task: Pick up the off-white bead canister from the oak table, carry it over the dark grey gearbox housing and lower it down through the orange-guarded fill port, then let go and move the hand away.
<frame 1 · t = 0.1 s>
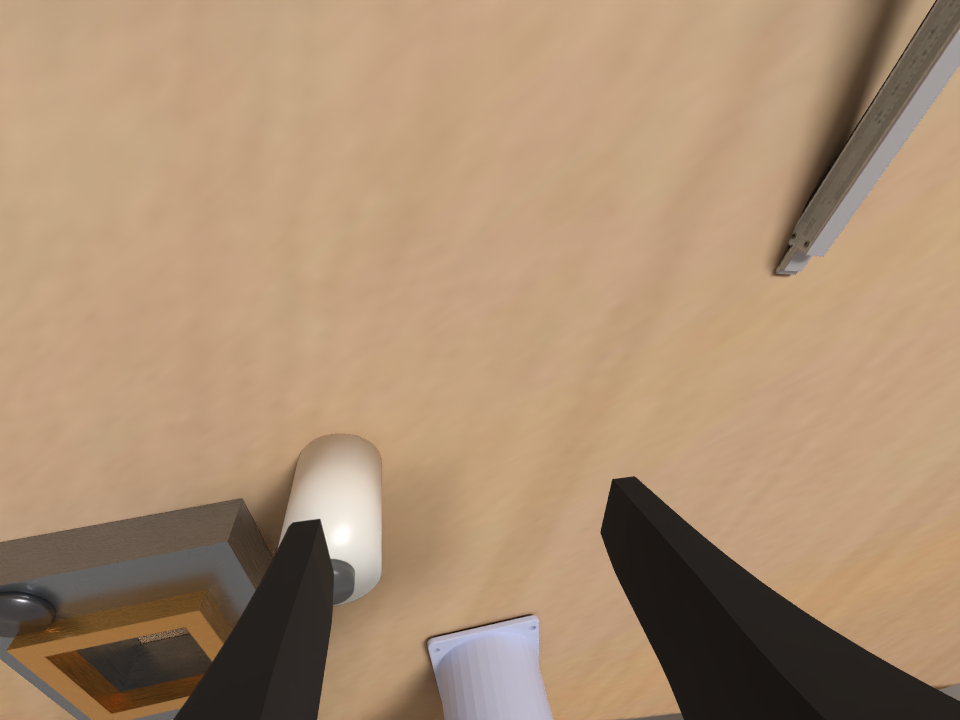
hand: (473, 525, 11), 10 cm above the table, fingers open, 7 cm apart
caliper: (898, 3, 16), on the table
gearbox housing: (174, 604, 25), on the table
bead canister: (340, 465, 22), on the table
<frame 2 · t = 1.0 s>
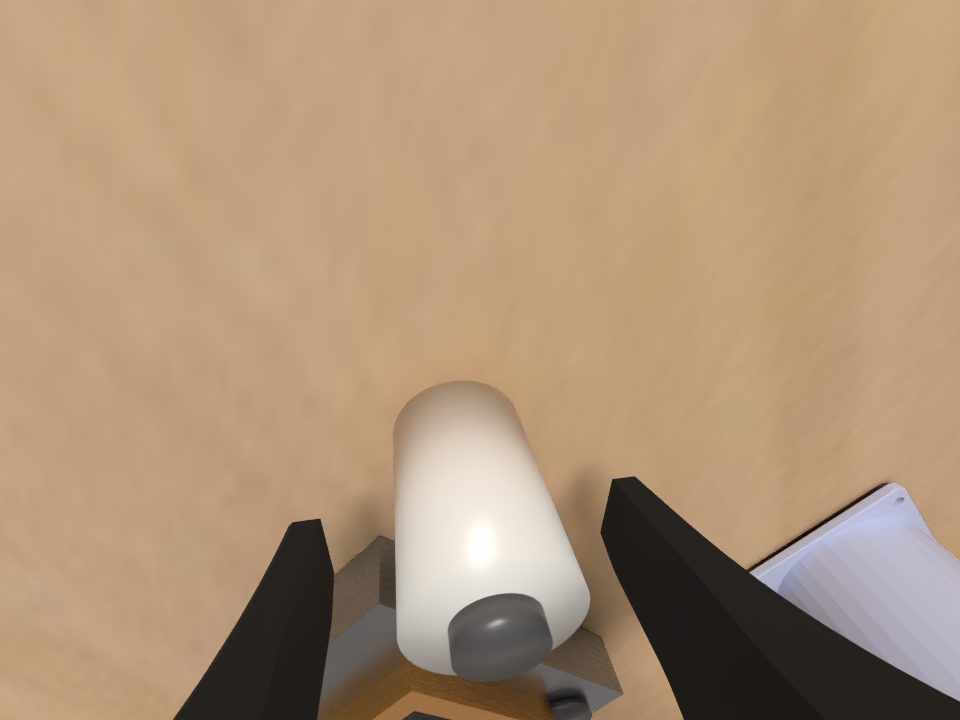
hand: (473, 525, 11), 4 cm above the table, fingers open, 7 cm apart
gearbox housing: (416, 664, 21), on the table
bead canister: (457, 433, 14), on the table
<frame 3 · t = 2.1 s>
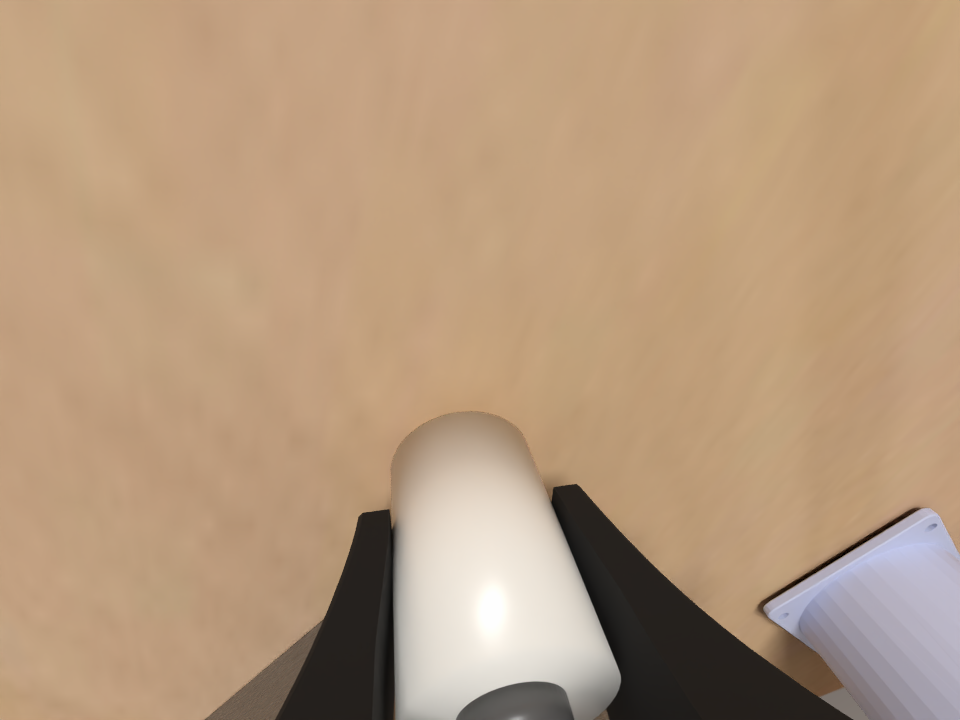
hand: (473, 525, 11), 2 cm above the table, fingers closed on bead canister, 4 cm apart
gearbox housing: (416, 702, 19), on the table
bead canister: (461, 467, 13), on the table, touching gripper
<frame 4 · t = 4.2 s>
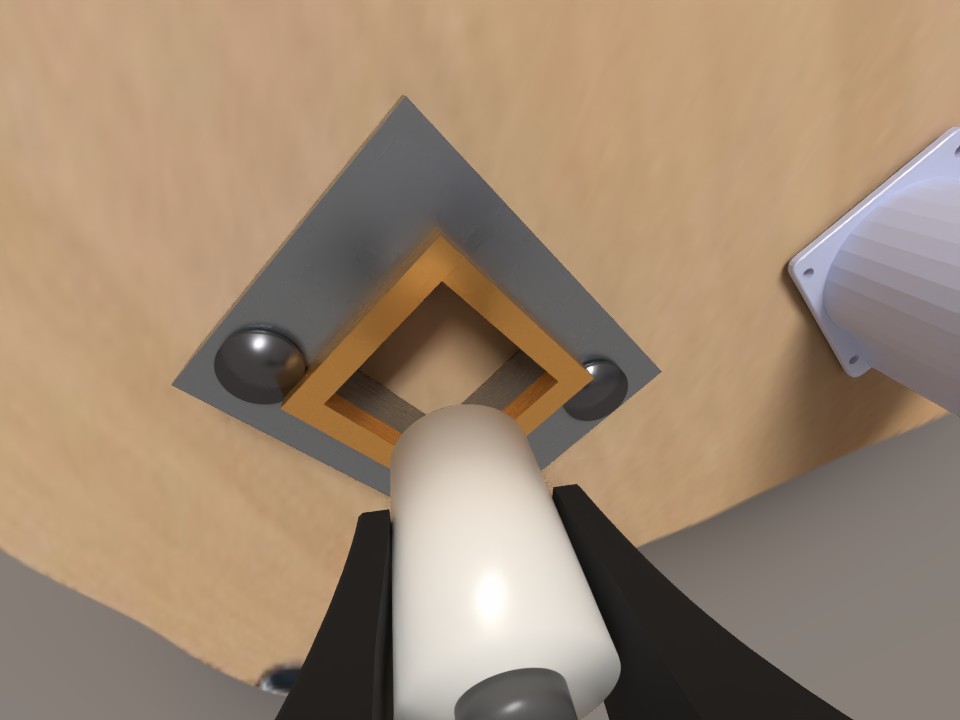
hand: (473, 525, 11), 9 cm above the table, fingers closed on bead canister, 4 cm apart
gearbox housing: (436, 345, 19), on the table
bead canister: (461, 461, 13), point 7 cm above the table, touching gripper
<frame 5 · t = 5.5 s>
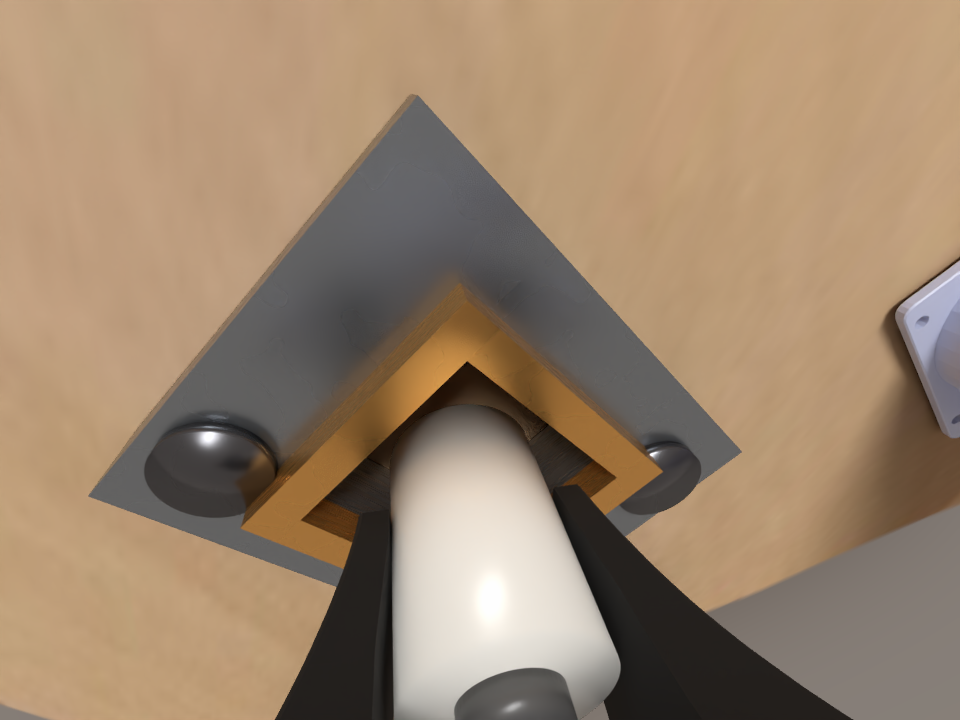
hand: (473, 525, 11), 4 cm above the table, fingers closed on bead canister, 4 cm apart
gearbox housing: (451, 416, 15), on the table
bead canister: (461, 461, 13), point 2 cm above the table, touching gripper
when the fingers open (4 cm above the table, at t = 6.2 s): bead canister drops 2 cm, resting in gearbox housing.
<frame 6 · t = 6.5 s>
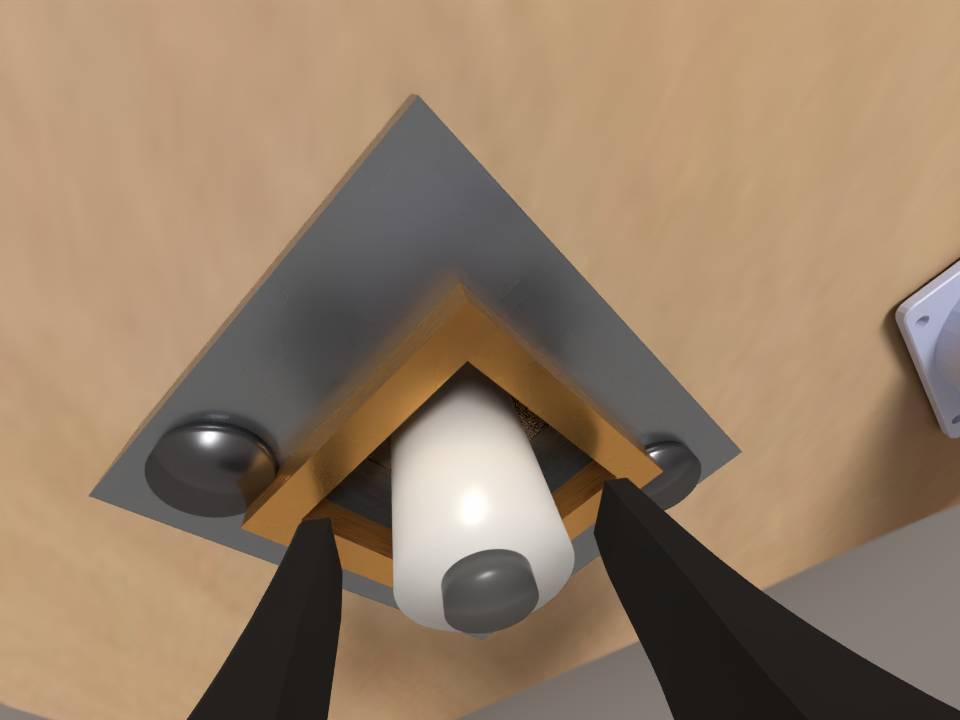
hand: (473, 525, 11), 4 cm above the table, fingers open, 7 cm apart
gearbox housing: (451, 416, 15), on the table
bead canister: (451, 412, 15), resting in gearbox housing
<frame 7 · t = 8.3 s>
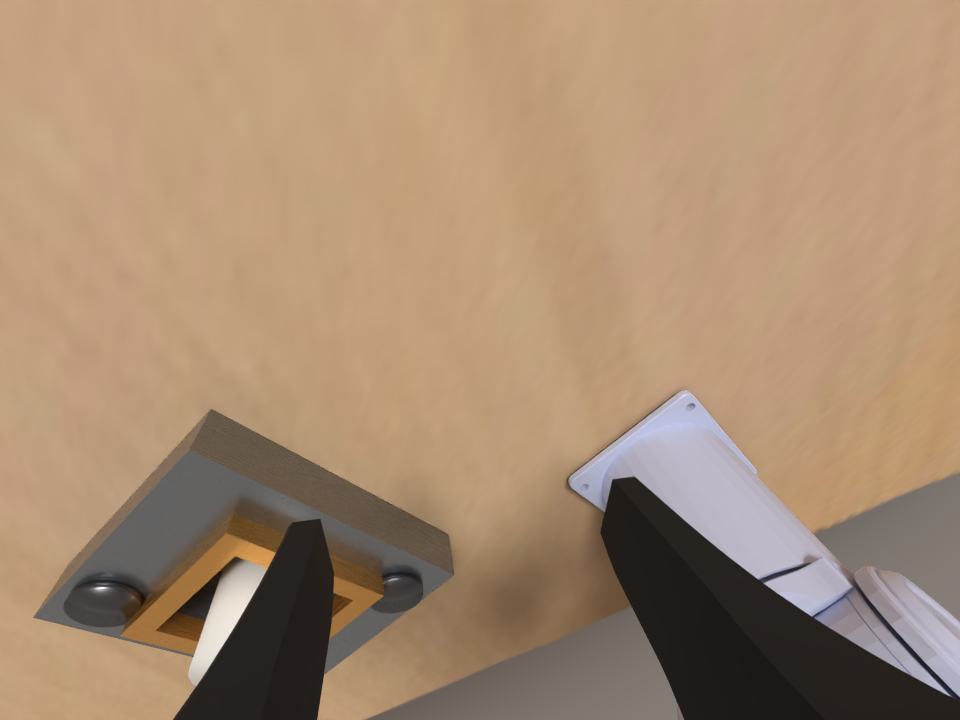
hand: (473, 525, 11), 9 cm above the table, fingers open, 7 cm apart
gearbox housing: (273, 549, 24), on the table
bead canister: (273, 546, 23), resting in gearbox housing
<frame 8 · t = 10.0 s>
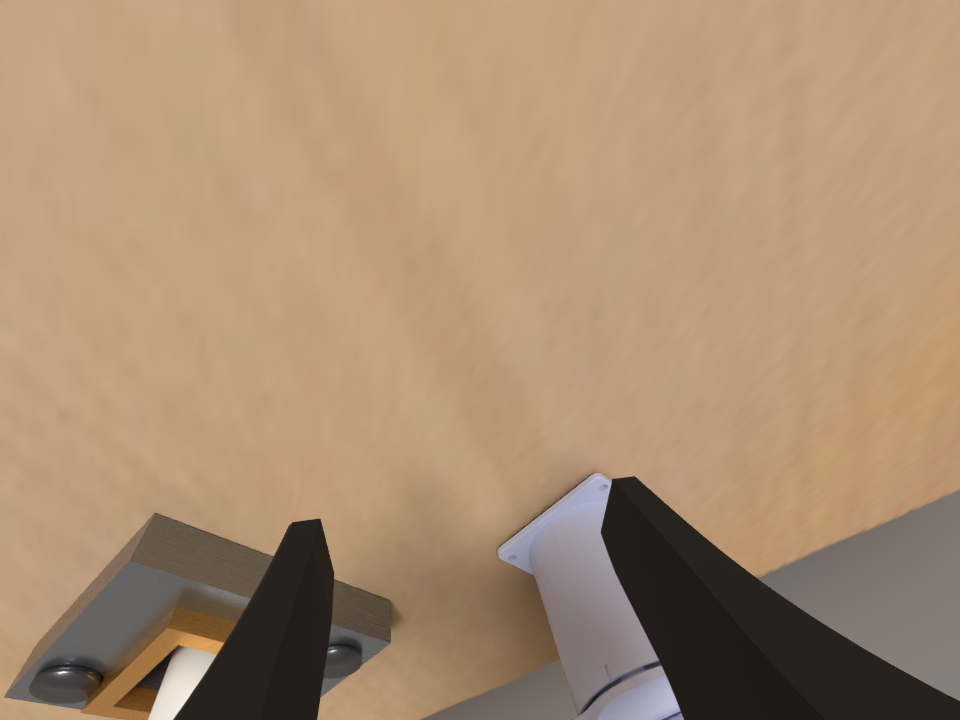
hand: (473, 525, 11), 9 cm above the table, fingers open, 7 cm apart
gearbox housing: (226, 620, 26), on the table
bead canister: (226, 618, 26), resting in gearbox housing
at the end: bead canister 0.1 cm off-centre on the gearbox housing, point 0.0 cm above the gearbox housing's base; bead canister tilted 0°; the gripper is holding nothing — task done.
